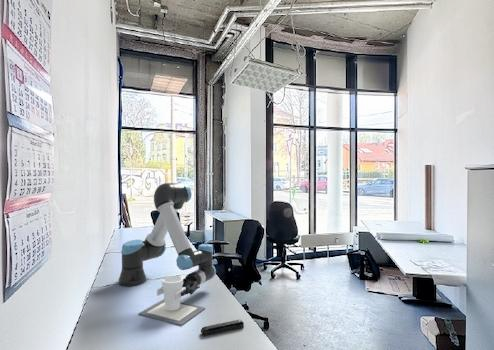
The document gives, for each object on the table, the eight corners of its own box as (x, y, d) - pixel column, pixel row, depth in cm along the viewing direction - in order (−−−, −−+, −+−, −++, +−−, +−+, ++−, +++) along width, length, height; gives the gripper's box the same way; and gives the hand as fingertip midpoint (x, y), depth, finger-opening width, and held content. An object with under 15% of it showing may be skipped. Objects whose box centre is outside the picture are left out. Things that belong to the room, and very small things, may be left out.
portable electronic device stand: (202, 337, 125) (202, 330, 125) (200, 334, 128) (200, 327, 128) (244, 328, 133) (244, 321, 133) (241, 325, 135) (241, 318, 135)
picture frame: (138, 314, 144) (138, 312, 144) (165, 299, 160) (165, 298, 160) (181, 325, 134) (181, 324, 134) (205, 309, 150) (205, 307, 150)
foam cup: (187, 305, 149) (187, 278, 148) (173, 313, 141) (173, 284, 140) (172, 301, 153) (172, 274, 153) (157, 308, 145) (157, 280, 145)
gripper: (213, 290, 158) (186, 307, 138) (177, 283, 168) (147, 298, 148) (213, 275, 158) (186, 290, 138) (177, 268, 168) (147, 282, 148)
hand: (166, 294), depth 143 cm, fingers closed on foam cup, 9 cm apart
